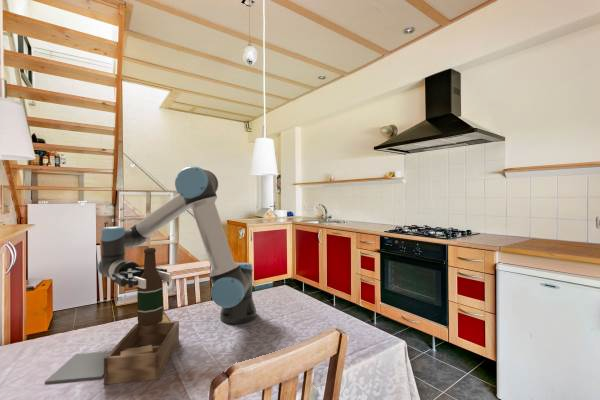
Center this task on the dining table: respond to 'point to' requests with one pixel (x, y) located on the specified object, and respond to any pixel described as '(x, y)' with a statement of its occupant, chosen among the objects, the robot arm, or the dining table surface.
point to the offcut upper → (138, 350)
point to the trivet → (81, 368)
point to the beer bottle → (150, 292)
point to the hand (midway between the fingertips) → (157, 281)
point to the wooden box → (142, 364)
